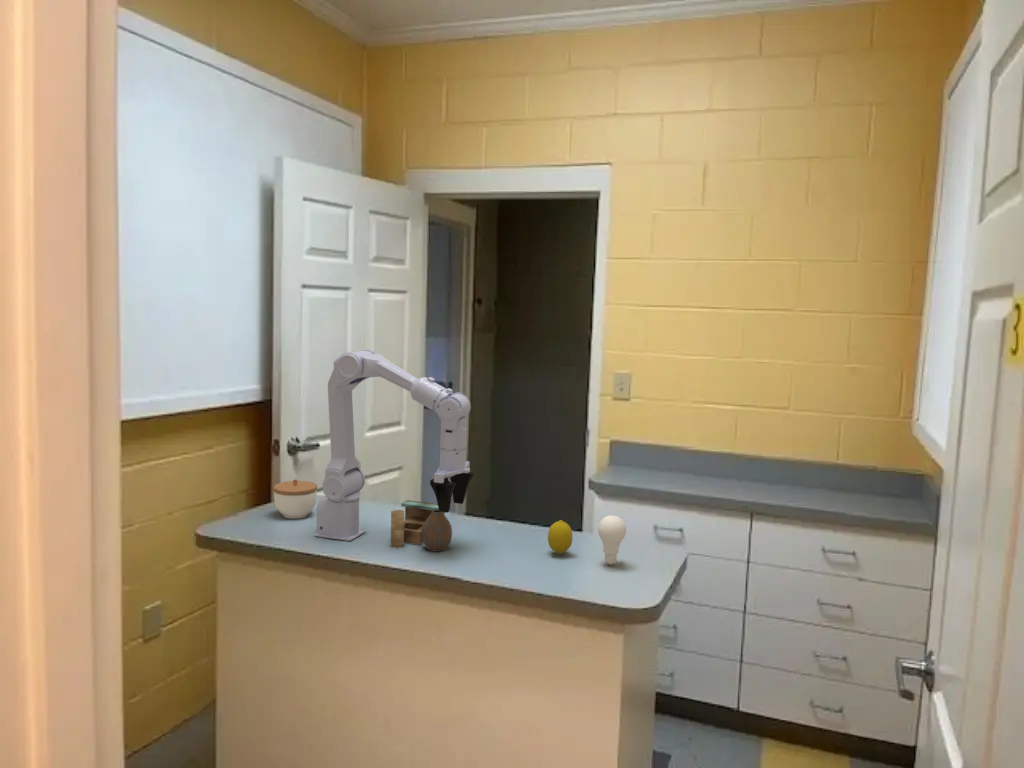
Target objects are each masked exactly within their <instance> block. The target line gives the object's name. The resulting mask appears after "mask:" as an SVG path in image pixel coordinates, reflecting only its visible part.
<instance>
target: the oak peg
mask: <svg viewBox="0 0 1024 768" xmlns="http://www.w3.org/2000/svg"><path fill="white" fill-rule="evenodd" d="M404 521H405V510H402V509H394V510H392V511H390V548H393V547H395V549H399V548H398V547H401V548H403V547H404V546H405V543H404Z"/></svg>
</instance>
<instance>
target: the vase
mask: <svg viewBox="0 0 1024 768" xmlns="http://www.w3.org/2000/svg"><path fill="white" fill-rule="evenodd" d="M452 537H453V528H452V525H451V522H450V521H449V519H448V518H447V516H446V514H445V515H444V513H443V512H440V511H439V510H433V511H432V512H431V514H430V516H429V517H428V518H427V519H426V521H425V522H424V524H423V527H422V541H423V543H422V544H423V545H424V547H425V548H427V550H429V551H433V552H441V551H444V550H446V549H447V548H448V547H449V546H450V543H451V541H452Z"/></svg>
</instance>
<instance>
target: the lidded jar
mask: <svg viewBox="0 0 1024 768" xmlns="http://www.w3.org/2000/svg"><path fill="white" fill-rule="evenodd" d="M317 490H318V485H317V483H316V482H312V481H308V480H298V479H297V478H293V480H287V481H281V482H278V483H277V484H275V485H274V486H273V497H274V499H273V500H274V503H275V504H274V505H275V507H276V510H277V511H278V512H279V513H280V514H281V515H282V517H284V518H285V519H291V520H292V519H293V520H296V519H304V518H306V517H308V516H309V514H310V512H312V510H313V509H314V507H315V504H316V501H317V496H318V495H317V493H318V492H317Z"/></svg>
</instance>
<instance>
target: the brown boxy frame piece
mask: <svg viewBox="0 0 1024 768" xmlns="http://www.w3.org/2000/svg"><path fill="white" fill-rule="evenodd" d="M400 504H401V507H404V508H405V509H404V542H405V543H404V544H410V543H411V544H410V545H419V546H420V545H422V544H424V543H423V541H422V527H423V524H424V522H425V521H426V519H427V518H428V517H429V516H430V514H431V512H432V511H433V510H439V508H438V503H433V502H426V501H425V502H424V501H417V500H409V499H408V500H405V501H404V502H402V503H400ZM443 513H444V515H445V516H446V514H445V513H446V512H443Z"/></svg>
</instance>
